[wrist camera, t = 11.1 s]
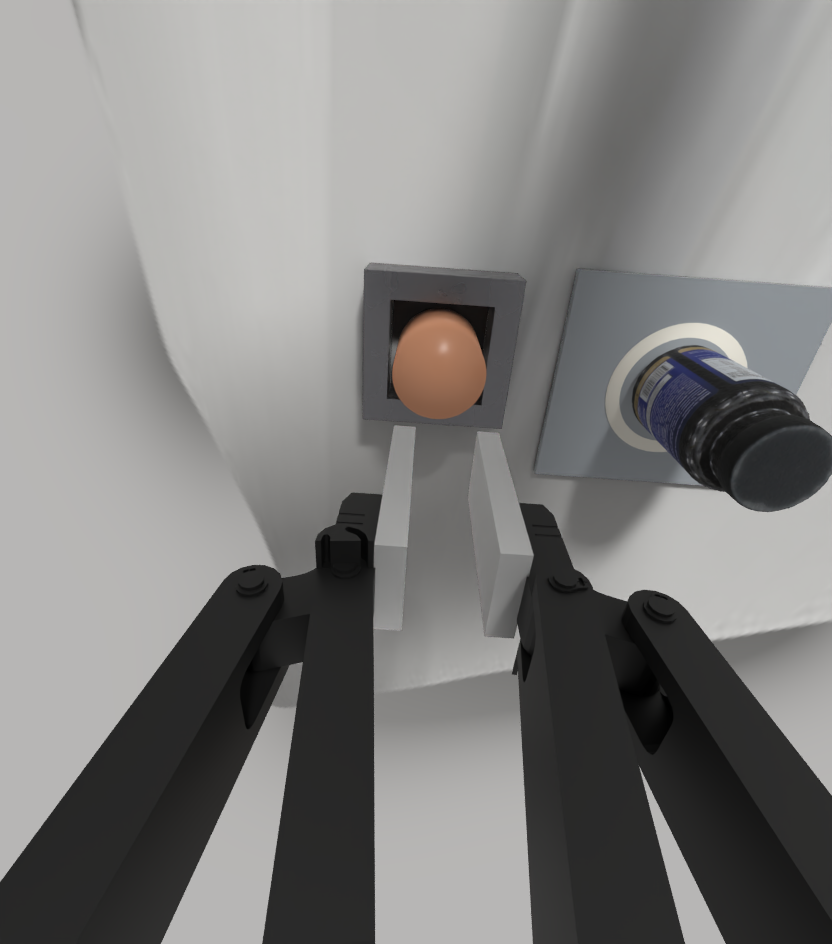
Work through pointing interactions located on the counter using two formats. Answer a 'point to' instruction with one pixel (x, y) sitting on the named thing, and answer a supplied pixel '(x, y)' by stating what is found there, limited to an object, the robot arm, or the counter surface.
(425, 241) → the counter surface
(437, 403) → the button
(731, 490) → the pill bottle
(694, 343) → the board
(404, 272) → the button housing
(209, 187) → the counter surface
